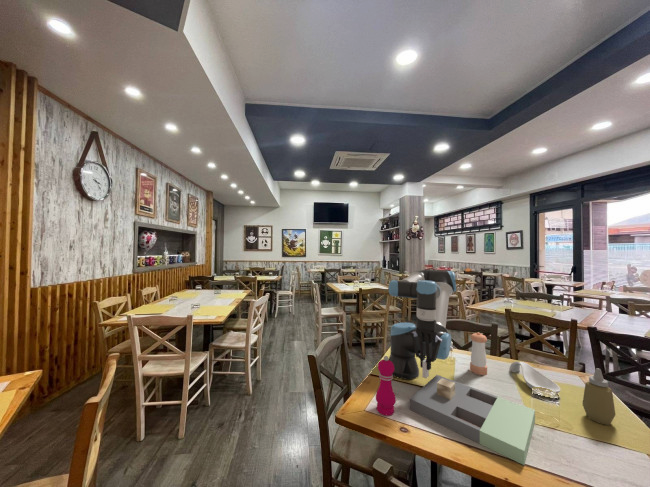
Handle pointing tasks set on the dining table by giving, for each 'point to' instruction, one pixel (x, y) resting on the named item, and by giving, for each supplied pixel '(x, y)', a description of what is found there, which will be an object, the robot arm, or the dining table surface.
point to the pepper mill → (385, 388)
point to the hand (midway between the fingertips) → (425, 376)
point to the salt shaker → (478, 354)
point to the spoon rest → (534, 377)
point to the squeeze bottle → (598, 399)
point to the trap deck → (479, 417)
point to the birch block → (446, 388)
